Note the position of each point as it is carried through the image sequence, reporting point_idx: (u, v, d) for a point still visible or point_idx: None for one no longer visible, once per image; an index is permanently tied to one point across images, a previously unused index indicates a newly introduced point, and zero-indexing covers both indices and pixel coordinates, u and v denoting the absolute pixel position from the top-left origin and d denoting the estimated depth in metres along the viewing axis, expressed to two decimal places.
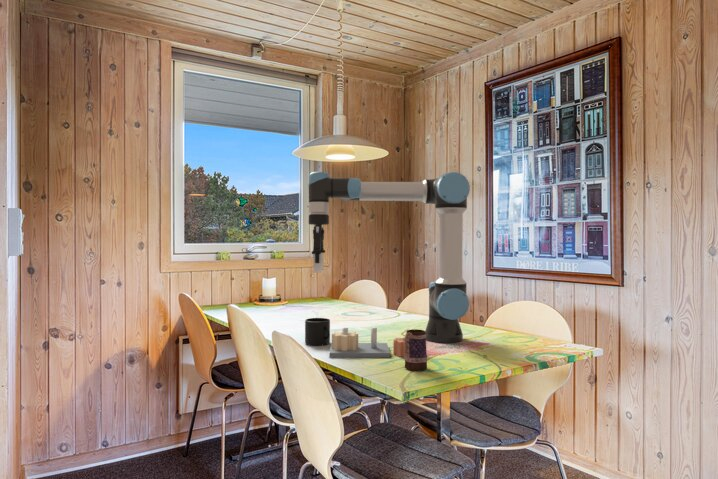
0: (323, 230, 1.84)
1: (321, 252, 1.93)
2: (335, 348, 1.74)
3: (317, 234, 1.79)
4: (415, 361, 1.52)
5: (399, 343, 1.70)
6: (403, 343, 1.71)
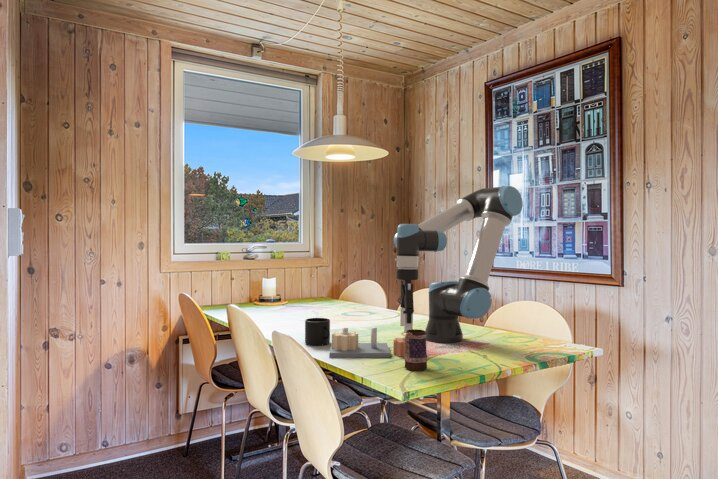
0: None
1: None
2: (335, 348, 1.74)
3: (409, 292, 1.67)
4: (415, 361, 1.52)
5: (399, 343, 1.70)
6: (403, 343, 1.71)
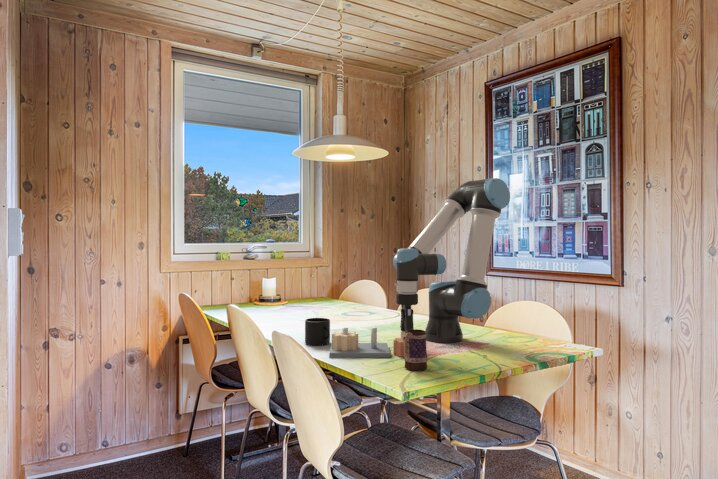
0: None
1: None
2: (335, 348, 1.74)
3: (409, 318, 1.67)
4: (415, 361, 1.52)
5: (399, 343, 1.70)
6: (403, 343, 1.71)
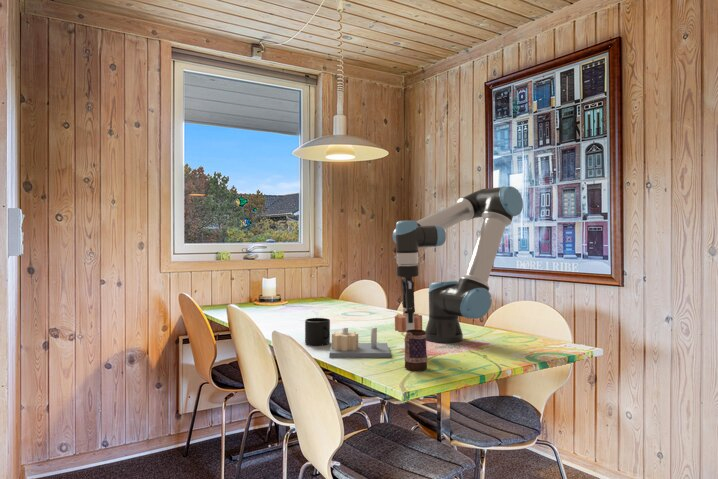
0: (413, 283, 1.72)
1: None
2: (335, 348, 1.74)
3: (410, 291, 1.67)
4: (415, 361, 1.52)
5: (400, 319, 1.71)
6: (404, 319, 1.71)
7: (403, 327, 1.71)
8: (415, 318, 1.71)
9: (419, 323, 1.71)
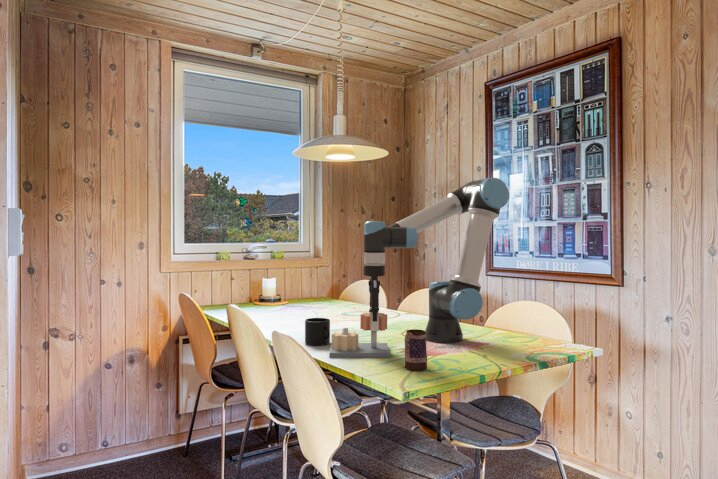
0: (379, 282, 1.75)
1: None
2: (335, 348, 1.74)
3: (375, 290, 1.71)
4: (415, 361, 1.52)
5: (365, 317, 1.74)
6: (369, 317, 1.74)
7: (368, 325, 1.74)
8: (380, 317, 1.74)
9: (384, 322, 1.74)
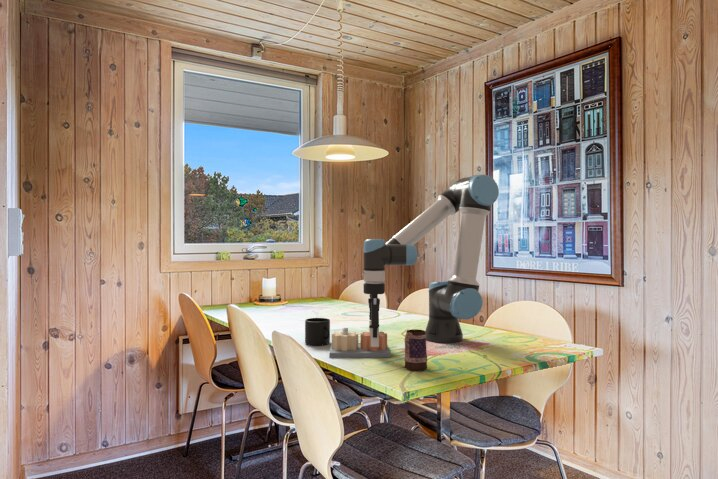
0: (379, 300, 1.76)
1: None
2: (335, 348, 1.74)
3: (375, 307, 1.70)
4: (415, 361, 1.52)
5: (365, 336, 1.74)
6: (369, 336, 1.74)
7: (368, 345, 1.74)
8: (380, 336, 1.74)
9: (384, 341, 1.74)
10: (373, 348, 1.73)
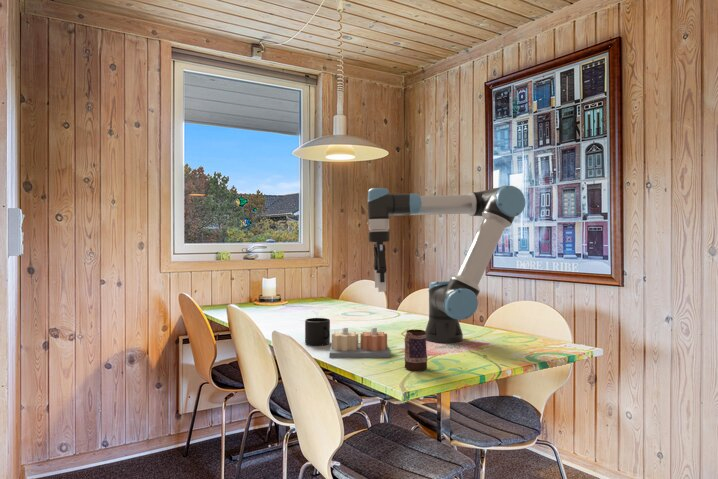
0: None
1: None
2: (335, 348, 1.74)
3: (381, 252, 1.74)
4: (415, 361, 1.52)
5: (365, 336, 1.74)
6: (369, 336, 1.74)
7: (368, 345, 1.74)
8: (380, 336, 1.74)
9: (384, 341, 1.74)
10: (373, 348, 1.73)
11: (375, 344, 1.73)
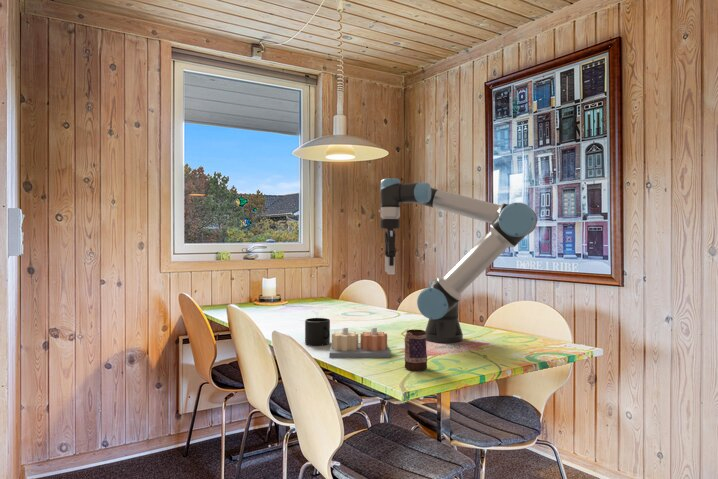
0: None
1: None
2: (335, 348, 1.74)
3: (391, 238, 1.88)
4: (415, 361, 1.52)
5: (365, 336, 1.74)
6: (369, 336, 1.74)
7: (368, 345, 1.74)
8: (380, 336, 1.74)
9: (384, 341, 1.74)
10: (373, 348, 1.73)
11: (375, 344, 1.73)
